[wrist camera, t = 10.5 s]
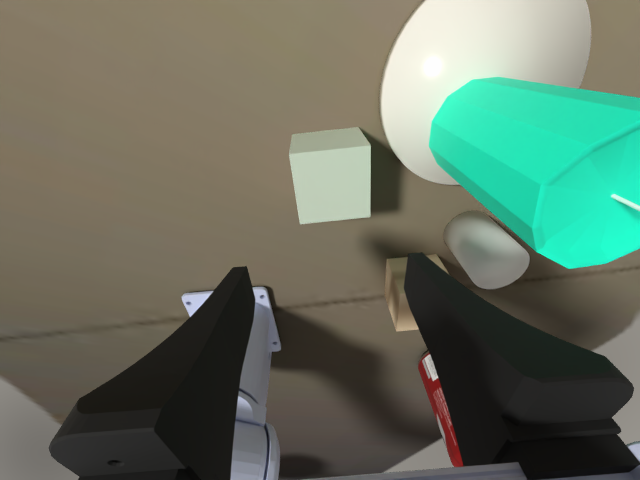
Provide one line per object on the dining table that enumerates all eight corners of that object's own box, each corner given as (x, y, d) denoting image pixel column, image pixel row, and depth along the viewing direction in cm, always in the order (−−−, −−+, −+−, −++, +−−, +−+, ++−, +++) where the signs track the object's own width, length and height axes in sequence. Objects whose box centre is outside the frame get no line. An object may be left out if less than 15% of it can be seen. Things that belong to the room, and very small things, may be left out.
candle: (491, 50, 16) (793, 55, 6) (540, 122, 18) (818, 210, 8) (409, 136, 18) (530, 238, 9) (462, 189, 21) (605, 319, 11)
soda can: (411, 347, 33) (456, 475, 23) (470, 331, 32) (544, 459, 22) (420, 376, 37) (463, 498, 27) (474, 363, 36) (539, 485, 26)
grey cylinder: (484, 248, 26) (519, 286, 21) (439, 251, 26) (465, 291, 21) (496, 208, 23) (538, 243, 19) (447, 212, 23) (478, 248, 19)
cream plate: (534, 171, 22) (545, 177, 21) (375, 185, 22) (379, 192, 21) (613, -51, 15) (635, -58, 14) (383, -29, 15) (388, -34, 14)
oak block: (429, 289, 28) (448, 326, 24) (384, 294, 28) (396, 331, 25) (436, 253, 26) (458, 288, 22) (386, 258, 26) (400, 293, 22)
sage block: (359, 188, 22) (370, 216, 18) (301, 194, 22) (300, 224, 18) (358, 126, 19) (370, 145, 16) (292, 133, 19) (289, 154, 16)
